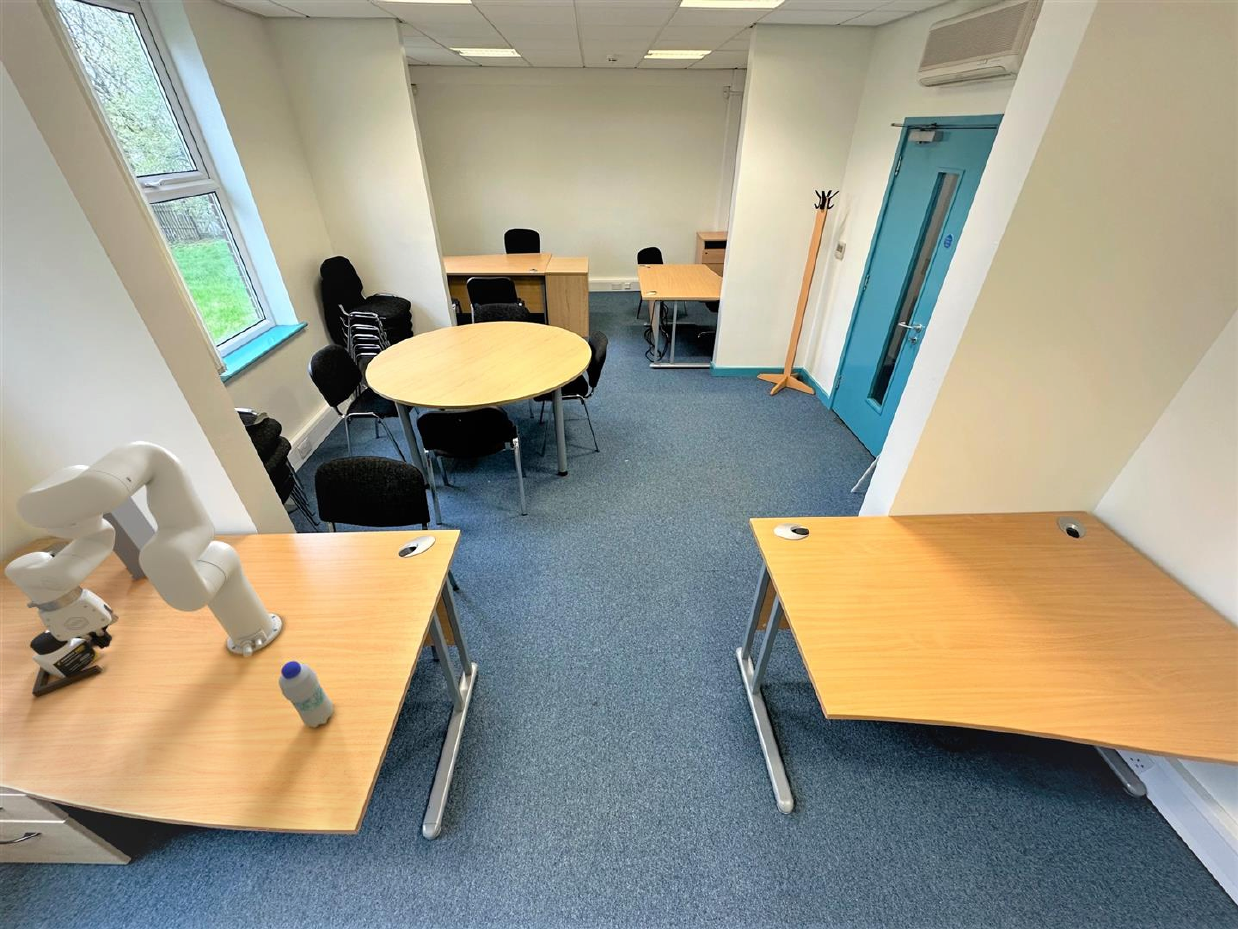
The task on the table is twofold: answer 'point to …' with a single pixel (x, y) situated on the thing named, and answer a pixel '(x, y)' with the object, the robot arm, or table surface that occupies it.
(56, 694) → the table surface
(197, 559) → the robot arm
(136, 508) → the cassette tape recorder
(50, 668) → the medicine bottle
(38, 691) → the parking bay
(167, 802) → the table surface
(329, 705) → the bottle
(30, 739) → the table surface
